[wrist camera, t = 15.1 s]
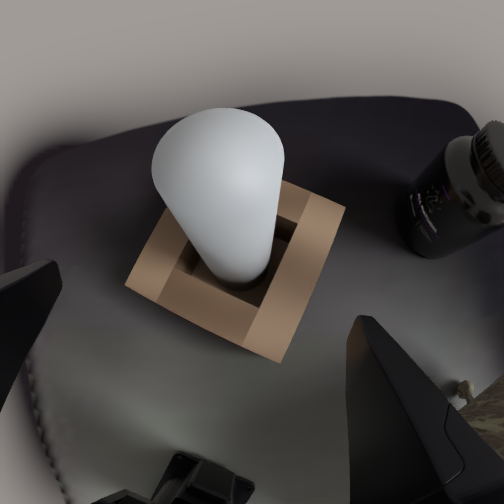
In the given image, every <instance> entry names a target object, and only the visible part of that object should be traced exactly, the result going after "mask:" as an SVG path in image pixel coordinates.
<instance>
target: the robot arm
mask: <svg viewBox="0 0 504 504" xmlns="http://www.w3.org/2000/svg"><path fill="white" fill-rule="evenodd" d="M61 290H62V279H61V276H60V272H59V268H58V265H57V263H56V262H55V261H53V260H49V259H44V260H41V261H38V262H36V263H33V264H30V265H27V266H25V267H22V268H19V269H17V270H14V271H11V272H9V273H6V274H4V275H1V276H0V412H1V409H2V407H3V405H4V403H5V400H6V398H7V396H8V394H9V392H10V389H11V387H12V385H13V383H14V381H15V379H16V377H17V375H18V373H19V371H20V369H21V367H22V365H23V363H24V361H25V359H26V357H27V355H28V353H29V351H30V350H31V348H32V346H33V344H34V342H35V340H36V339H37V337H38V335H39V333H40V332H41V330H42V328H43V326H44V324H45V322H46V320H47V318H48V316H49V314H50V312H51V310H52V308H53V306H54V304H55V302H56V300H57V298H58V296H59V294H60V292H61ZM346 408H347V422H348V439H349V464H350V504H504V460H503V459H502V458H501V457H500V456H499V455H498V454H497V453H496V452H495V450H494V449H493V448H492V447H491V446H490V445H489V444H488V443H487V442H486V441H485V440H484V439H483V438H482V437H481V436H480V435H479V434H478V433H477V432H476V431H475V430H474V429H473V428H472V427H471V426H470V425H469V424H468V422H467V421H466V420H465V419H464V418H463V417H462V416H461V415H460V413H459V412H458V411H457V410H456V409H455V408H454V406H453V405H452V404H451V403H449V401H448V399H447V398H446V397H445V396H444V395H443V394H442V393H441V391H440V390H439V389H438V388H437V387H436V386H435V385H434V383H433V382H432V381H431V380H430V379H429V378H428V377H427V375H426V374H425V373H424V372H423V371H422V370H421V369H420V368H419V366H418V365H417V364H416V363H415V362H414V361H413V360H412V359H411V358H410V357H409V355H408V354H407V353H406V352H405V351H404V350H403V349H402V348H401V347H400V346H399V344H398V343H397V342H396V341H395V340H394V339H393V338H392V337H391V336H390V335H389V334H388V333H387V331H386V330H385V329H384V328H383V327H382V326H381V325H380V324H379V323H378V322H377V321H376V320H375V319H374V318H373V317H372V316H365V315H359V316H357V317H356V319H355V321H354V324H353V326H352V329H351V331H350V333H349V336H348V339H347V349H346ZM178 456H181V457H182V458H183V460H180V459H178ZM246 486H250V487H251V488H249V489H247V488H245V487H246ZM254 490H255V484H254V483H253V482H251V481H248V480H245V479H243V478H240V477H238V476H235V475H234V473H233V472H230V471H228V470H225V469H223V468H221V467H218V466H216V465H214V464H211V463H209V462H207V461H205V460H202V461H200V460H198V459H196V458H194V457H192V456H190V455H188V454H186V453H184V452H176V453H175V454H174V456H173V458H172V460H171V462H170V464H169V465H168V467H167V469H166V471H165V473H164V475H163V477H162V479H161V481H160V483H159V485H158V487H157V488H156V490H155V492H154V494H153V496H152V498H151V500H149V499H147V498H144V497H142V496H140V495H138V494H135V493H133V492H130V491H128V490H126V489H124V490H121V491H119V492H117V493H114V494H112V495H109V496H107V497H104V498H101V499H100V500H98V501H96V502H93V503H91V504H246V503H247V501H248V500H249V498H250V496H251V495H252V493H253V492H254Z"/></svg>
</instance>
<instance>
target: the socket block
mask: <svg viewBox="0 0 504 504" xmlns="http://www.w3.org/2000/svg"><path fill="white" fill-rule="evenodd" d="M345 208H346V207H344V206H342V205H340V204H337V203H335V202H333V201H331V200H328V199H326V198H324V197H322V196H319V195H317V194H315V193H312V192H310V191H308V190H305V189H303V188H300V187H298V186H296V185H293V184H291V183H288V182H286V181H284V180H281V187H280V194H279V201H278V208H277V215H276V221H275V228H274V235H273V241H272V248H271V254H270V261H269V267H268V271H267V274H266V276H265V278H264V279H263V281H262V282H261V283H260V284H259V285H257V286H256V287H254V288H252V289H250V290H246V291H233V290H230V289H228V288H226V287H224V286H222V285H221V284H220V283H219V282H218V281H217V279H216V278H215V276H214V275H213V273H212V272H211V271H210V269H209V268H208V266H207V265H206V263H205V262H204V260H203V259H202V257H201V256H200V254H199V253H198V252H197V250H196V249H195V247H194V246H193V244H192V243H191V241H190V240H189V238H188V237H187V235H186V234H185V232H184V231H183V229H182V228H181V226H180V225H179V223H178V222H177V220H176V219H175V217H174V215H173V214H172V212H171V211H170V209H169V208H168V206H167V208H166V209H165V211H164V213H163V214H162V216H161V218H160V220H159V221H158V223H157V225H156V227H155V228H154V230H153V232H152V234H151V236H150V237H149V239H148V241H147V243H146V245H145V247H144V248H143V250H142V252H141V254H140V256H139V258H138V260H137V262H136V263H135V265H134V267H133V269H132V271H131V273H130V275H129V277H128V279H127V281H126V283H125V285H126V286H127V287H129V288H131V289H132V290H134V291H136V292H138V293H139V294H141V295H143V296H145V297H146V298H148V299H150V300H152V301H153V302H155V303H157V304H159V305H161V306H163V307H164V308H166V309H168V310H170V311H172V312H174V313H175V314H177V315H179V316H181V317H183V318H185V319H187V320H189V321H191V322H193V323H195V324H196V325H198V326H200V327H202V328H204V329H206V330H208V331H210V332H212V333H214V334H216V335H218V336H221V337H223V338H225V339H227V340H229V341H231V342H233V343H235V344H237V345H239V346H241V347H244V348H246V349H248V350H250V351H252V352H254V353H257V354H259V355H261V356H263V357H266V358H268V359H270V360H272V361H275V362H277V363H279V364H280V363H281V361H282V359H283V357H284V355H285V352H286V350H287V348H288V346H289V344H290V342H291V340H292V337H293V335H294V333H295V331H296V329H297V326H298V324H299V322H300V320H301V317H302V315H303V313H304V311H305V308H306V306H307V304H308V301H309V299H310V297H311V294H312V292H313V290H314V287H315V285H316V283H317V280H318V278H319V275H320V273H321V270H322V268H323V265H324V263H325V261H326V258H327V255H328V253H329V250H330V248H331V245H332V243H333V240H334V238H335V235H336V232H337V230H338V227H339V224H340V222H341V219H342V216H343V214H344V211H345Z"/></svg>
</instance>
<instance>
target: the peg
mask: <svg viewBox="0 0 504 504" xmlns="http://www.w3.org/2000/svg"><path fill="white" fill-rule="evenodd" d="M283 166H284V150H283V146H282V143H281V140H280V138H279V136H278V135H277V133H276V132H275V130H274V129H273V128H272V127H271V126H270V125H269V124H268V123H267V122H265V121H264V120H263V119H261V118H260V117H258V116H256V115H254V114H252V113H249V112H246V111H243V110H238V109H232V108H216V109H209V110H205V111H201V112H198V113H195V114H192V115H190V116H188V117H186V118H184V119H183V120H181V121H179V122H178V123H177V124H175V125H174V126H173V127H172V128H171V129H170V130H169V131H168V132H167V133H166V134H165V135H164V136H163V138H162V139H161V140H160V142H159V144H158V146H157V148H156V150H155V153H154V156H153V160H152V177H153V181H154V184H155V187H156V189H157V191H158V192H159V194H160V195H161V197H162V198H163V200H164V202H165V203H166V205H167V206H168V208H169V209H170V211H171V212H172V214H173V215H174V217H175V219H176V220H177V222H178V223H179V225H180V226H181V228H182V229H183V231H184V232H185V234H186V235H187V237H188V238H189V240H190V241H191V243H192V244H193V246H194V247H195V249H196V250H197V252H198V253H199V254H200V256H201V257H202V259H203V260H204V262H205V263H206V265H207V266H208V268H209V269H210V271H211V272H212V273H213V275H214V276H215V278H216V279H217V281H218V282H219V283H220V284H221V285H222V286H224V287H226V288H228V289H230V290H233V291H246V290H250V289H252V288H254V287H256V286H257V285H259V284H260V283H261V282H262V281H263V279H264V278H265V276H266V274H267V271H268V267H269V261H270V254H271V248H272V241H273V235H274V228H275V221H276V215H277V208H278V201H279V194H280V187H281V180H282V173H283Z"/></svg>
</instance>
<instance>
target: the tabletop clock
mask: <svg viewBox="0 0 504 504" xmlns="http://www.w3.org/2000/svg"><path fill="white" fill-rule="evenodd" d="M473 390H474V386H473V384H472V382H471V381H466V380H465V381H463V382H461V383H460V384H459V386H458V387H457V395H458V396H459V398H462V399H466V401H467V404H466V405H465V406H464V407H462V408H461V409H460V410H458V412H459V413H460V415H461V416H462V417H463V418H464V419H465V420H466V421H467V422H468V424H469V425H470V426H471V427H472V428H473V429H474V430H475V431H476V432H477V433H478V434H479V435H480V436H481V437H482V438H483V439H484V440H485V441H486V442H487V443H488V444H489V445H490V446H491V447H492V448H493V449H494V450H495V452H496V453H497V454H498V455H499V456H500V457H501V458H502V459H503V460H504V374H503V375H502V376H501V377H499V378H498V379H497V380H496V381H495V382H494V383H493V384H491V385H490V386H489V387H488V388H487V389H485V390H484V391H483V392H482V393H481V394H479V395H478V396H477V397H476V398H473V397H472V395H471V394H472V393H473Z"/></svg>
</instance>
